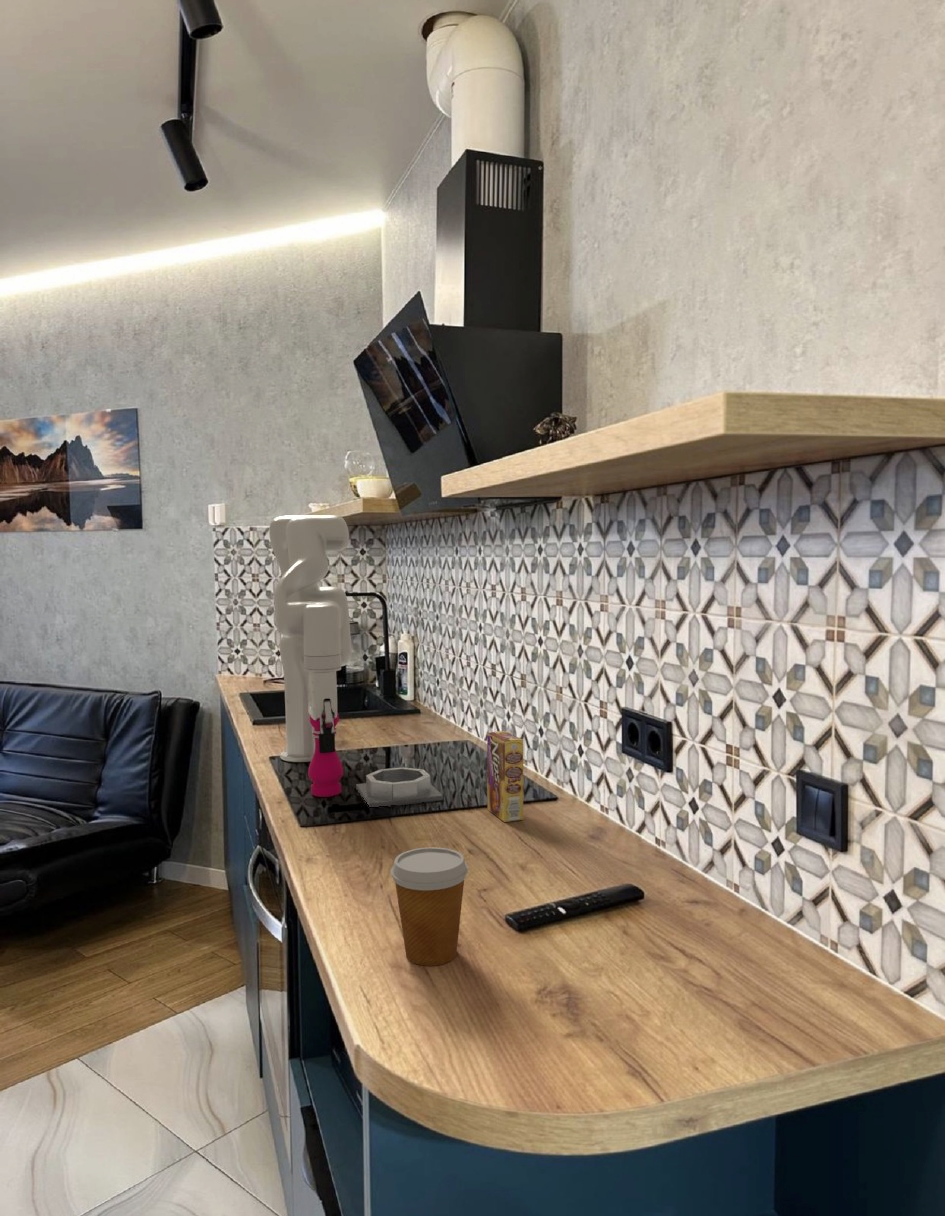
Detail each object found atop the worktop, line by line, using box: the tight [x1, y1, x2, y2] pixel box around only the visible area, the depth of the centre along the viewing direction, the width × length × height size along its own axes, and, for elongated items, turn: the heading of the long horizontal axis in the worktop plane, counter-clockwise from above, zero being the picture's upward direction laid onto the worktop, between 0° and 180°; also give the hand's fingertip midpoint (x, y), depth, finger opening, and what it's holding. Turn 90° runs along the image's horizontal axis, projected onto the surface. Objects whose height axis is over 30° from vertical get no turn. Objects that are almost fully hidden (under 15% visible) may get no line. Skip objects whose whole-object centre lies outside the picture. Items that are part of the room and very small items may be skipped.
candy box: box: [486, 730, 524, 823], centre depth 159 cm, size 9×4×15 cm, turn 20°
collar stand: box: [355, 766, 444, 808], centre depth 174 cm, size 15×15×4 cm
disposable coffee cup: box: [390, 846, 469, 967], centre depth 103 cm, size 10×10×12 cm
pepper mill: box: [307, 711, 344, 798], centre depth 175 cm, size 7×7×20 cm
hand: (325, 748), depth 175 cm, fingers closed on pepper mill, 5 cm apart
